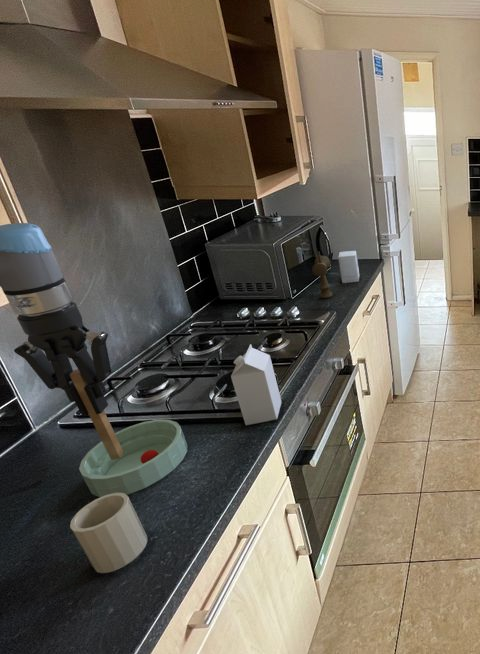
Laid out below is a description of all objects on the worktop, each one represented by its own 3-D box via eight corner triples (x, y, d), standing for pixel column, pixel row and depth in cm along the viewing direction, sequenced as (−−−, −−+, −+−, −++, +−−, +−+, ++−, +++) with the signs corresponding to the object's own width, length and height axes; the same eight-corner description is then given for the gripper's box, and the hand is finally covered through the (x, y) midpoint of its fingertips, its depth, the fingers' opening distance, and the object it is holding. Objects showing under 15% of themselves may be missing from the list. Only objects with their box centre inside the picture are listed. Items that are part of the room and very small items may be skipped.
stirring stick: (111, 460, 89) (69, 374, 80) (115, 454, 90) (74, 369, 82) (120, 458, 89) (79, 373, 81) (124, 452, 90) (84, 368, 82)
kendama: (335, 291, 178) (328, 246, 170) (333, 300, 169) (325, 254, 162) (320, 292, 176) (312, 248, 169) (317, 302, 168) (308, 255, 160)
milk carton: (281, 402, 112) (266, 341, 105) (277, 420, 106) (260, 356, 99) (252, 407, 110) (234, 346, 103) (245, 426, 104) (226, 362, 96)
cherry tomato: (140, 469, 90) (135, 459, 89) (146, 458, 93) (142, 448, 92) (156, 466, 91) (152, 455, 90) (162, 455, 94) (158, 445, 93)
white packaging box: (359, 281, 187) (355, 255, 182) (341, 283, 185) (337, 257, 181) (360, 275, 194) (356, 250, 189) (343, 277, 192) (339, 251, 187)
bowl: (71, 510, 82) (59, 488, 80) (116, 448, 97) (107, 428, 95) (170, 488, 87) (161, 467, 85) (199, 432, 102) (192, 413, 99)
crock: (85, 581, 70) (59, 537, 66) (109, 541, 76) (86, 498, 72) (137, 568, 72) (114, 524, 68) (156, 530, 78) (136, 488, 74)
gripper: (-24, 323, 70) (37, 431, 79) (83, 311, 74) (129, 415, 83) (10, 304, 77) (62, 406, 86) (106, 294, 81) (147, 392, 90)
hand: (95, 410), depth 85 cm, fingers closed on stirring stick, 2 cm apart
